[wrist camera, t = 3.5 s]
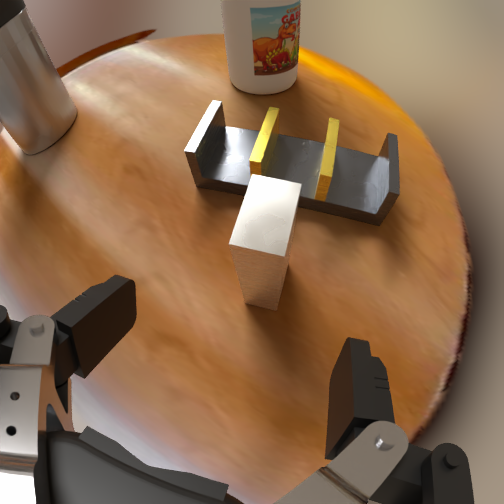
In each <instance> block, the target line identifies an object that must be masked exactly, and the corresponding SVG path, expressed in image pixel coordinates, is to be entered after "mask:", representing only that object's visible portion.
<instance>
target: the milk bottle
mask: <svg viewBox="0 0 504 504" xmlns="http://www.w3.org/2000/svg"><path fill="white" fill-rule="evenodd" d="M221 8H222V17H223V27H224V36H225V45H226V53H227V62H228V70H229V76H230V80H231V82H232V83H233V85H234V86H235V87H236V88H238V89H240V90H242V91H244V92H248V93H251V94H263V95H265V94H274V93H279V92H282V91H284V90H286V89H288V88H290V87H291V86H292V85H293V84H294V82H295V81H296V78H297V69H298V53H299V34H300V0H221Z"/></svg>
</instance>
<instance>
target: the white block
mask: <svg viewBox="0 0 504 504" xmlns="http://www.w3.org/2000/svg"><path fill="white" fill-rule="evenodd" d="M300 191H301V184H299V183H295V182H290V181H285V180H280V179H275V178H270V177H265V176H259V175H254V174H252V177H251V180H250V183H249V186H248V189H247V192H246V195H245V197H244V200H243V203H242V206H241V209H240V212H239V215H238V218H237V221H236V224H235V227H234V230H233V233H232V236H231V239H230V242H229V246H230V250H231V253H232V257H233V261H234V264H235V268H236V272H237V276H238V279H239V283H240V287H241V290H242V294H243V298H244V301H245V303H246V304H250V305H254V306H258V307H262V308H266V309H270V310H274V311H277V307H278V304H279V300H280V296H281V292H282V288H283V284H284V279H285V275H286V271H287V267H288V263H289V257H290V251H291V246H292V240H293V234H294V228H295V222H296V216H297V210H298V204H299V197H300Z"/></svg>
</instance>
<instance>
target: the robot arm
mask: <svg viewBox="0 0 504 504" xmlns="http://www.w3.org/2000/svg"><path fill="white" fill-rule="evenodd" d="M76 115H77V108H76V106H75V104H74V102H73V101H72V99H71V97H70V95H69V93H68V91H67V90H66V88H65V86H64V84H63V82H62V80H61V78H60V76H59V74H58V73H57V71H56V69H55V67H54V65H53V63H52V61H51V59H50V57H49V55H48V53H47V51H46V49H45V47H44V45H43V43H42V41H41V39H40V36H39V35H38V32H37V30H36V28H35V26H34V24H33V22H32V19H31V17H30V15H29V13H28V10H27V8H26V7H25V4H24V1H23V0H0V122H1V123H2V125H3V126H4V127H5V129H6V130H7V131H8V133H9V134H10V135H11V137H12V138H13V139H14V140H15V142H16V143H17V144H18V145H19V147H20V148H21V149H22V150H23V152H24V153H26V154H30V155H31V154H36V153H38V152H41V151H43V150H45V149H46V148H48V147H49V146H51V145H52V144H53V143H55V142H56V141H57V140H58V139H59V138H60V137H61V136H63V135H64V134H65V132H66V131H67V130H68V129H69V128H70V126H71V125H72V123H73V122H74V120H75V118H76ZM136 315H137V311H136V289H135V282H134V281H133V280H131V279H128V278H125V277H122V276H119V275H114V276H113V277H111V278H110V279H108V280H107V281H106V282H104V283H101V284H98V285H95V286H92V287H90V288H89V289H87V290H86V291H85V292H83V293H82V295H79V296H78V297H76V298H75V300H72V301H71V302H70V303H68V304H67V305H66V306H64V307H63V308H62V309H60V310H59V311H58V312H56V313H55V314H54V315H53V316H51V317H48V316H44V315H35V316H31V317H29V318H27V319H25V320H24V321H23V322H18V321H14V320H10V319H9V316H8V312H7V309H6V308H5V307H4V306H2V305H0V504H244V503H243V502H241V501H239V500H238V499H236V498H235V497H233V496H231V495H229V494H228V493H227V490H228V486H229V485H228V484H224V483H221V482H217V481H214V480H211V479H207V478H204V477H201V476H198V475H195V474H192V473H188V472H180V471H174V470H167V469H162V468H156V467H151V466H148V465H146V464H144V463H143V462H142V461H140V460H139V459H138V458H136V457H135V456H134V455H132V454H131V453H130V452H129V451H127V450H126V449H125V448H124V447H122V446H121V445H120V444H119V443H118V442H116V441H114V440H112V439H110V438H108V437H106V436H104V435H103V434H101V433H99V432H97V431H95V430H94V429H92V428H90V427H88V426H87V427H86V428H85V429H84V431H83V432H82V433H78V432H75V431H74V428H73V423H72V404H71V379H70V376H71V375H72V374H73V373H75V374H77V375H78V376H80V377H82V378H84V379H85V378H86V377H87V376H88V374H89V373H90V372H91V371H92V370H93V369H94V368H95V367H96V366H97V365H98V364H99V363H100V361H101V360H102V359H103V358H104V357H105V356H106V355H107V354H108V353H109V352H110V351H111V350H112V349H113V347H114V346H115V345H116V344H117V343H118V342H119V341H120V340H121V339H122V338H123V337H124V336H125V335H126V334H127V333H128V332H129V331H130V329H131V328H132V327H133V325H134V323H135V320H136ZM389 389H390V388H389V382H388V376H387V371H386V367H385V366H384V364H383V363H382V361H381V360H380V359H379V357H373V356H371V352H370V345H369V342H368V341H365V340H360V339H355V338H350V337H348V338H347V339H346V341H345V343H344V346H343V348H342V350H341V353H340V355H339V357H338V360H337V362H336V364H335V367H334V369H333V372H332V375H331V379H330V386H329V408H328V425H327V439H326V451H325V459H329V460H332V461H331V462H330V463H329V464H328V465H327V466H325V467H321V468H320V469H318V470H317V471H316V472H314V473H313V474H312V475H311V476H310V477H308V478H307V479H306V480H305V481H303V482H302V483H301V484H299V485H298V486H297V487H296V488H294V489H293V490H292V491H290V492H289V493H288V494H286V495H285V496H283V497H282V498H281V499H279V500H278V501H276V502H275V503H274V504H367V503H368V501H367V500H368V499H369V500H372V501H375V502H378V503H381V504H474V497H473V489H472V482H471V475H470V469H469V463H468V458H467V456H466V454H465V453H464V451H463V450H462V449H461V448H459V447H458V446H457V445H454V444H451V443H443V444H440V445H438V446H437V447H436V448H435V449H434V450H433V451H430V450H427V449H423V448H420V447H418V446H415V445H412V444H410V443H409V442H408V438H407V436H406V434H405V432H404V431H403V430H402V429H401V428H400V427H399V426H397V425H396V424H395V420H394V413H393V406H392V400H391V394H390V391H389Z"/></svg>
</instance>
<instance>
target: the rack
mask: <svg viewBox="0 0 504 504" xmlns="http://www.w3.org/2000/svg"><path fill="white" fill-rule="evenodd" d="M338 128H339V120H338V119H333V118H329V123H328V128H327V133H326V138H325V143H321V142H316V141H311V140H306V139H301V138H296V137H291V136H286V135H280V134H279V108H274V107H269V109H268V112H267V114H266V117H265V120H264V122H263V125H262V128H261V130H260V131H255V130H249V129H241V128H234V127H226V125H225V119H224V112H223V106H222V101H214V100H213V101H212V103H211V104H210V106H209V108H208V109H207V111H206V113H205V115H204V116H203V118H202V120H201V122H200V123H199V125H198V127H197V129H196V130H195V132H194V134H193V136H192V138H191V140H190V141H189V143H188V145H187V147H186V149H185V154H186V157H187V160H188V163H189V166H190V169H191V172H192V175H193V178H194V181H195V184H196V187H201V188H206V189H212V190H217V191H223V192H228V193H234V194H239V195H244V196H245V195H246V192H247V189H248V186H249V183H250V180H251V177H252V174H254V175H259V176H265V177H270V178H275V179H280V180H285V181H290V182H295V183H299V184H301V191H300V197H299V204H298V207H302V208H306V209H311V210H315V211H319V212H324V213H328V214H332V215H337V216H341V217H345V218H349V219H353V220H357V221H361V222H365V223H369V224H373V225H377V226H380V225H381V223H382V222H383V220H384V219H385V217H386V215H387V214H388V212H389V211H390V209H391V207H392V206H393V204H394V203H395V201H396V199H397V198H398V196H399V195H400V191H399V157H398V140H397V135H394V134H391V133H388V134H387V136H386V139H385V141H384V144H383V146H382V149H381V151H380V153H379V156H374V155H370V154H367V153H363V152H359V151H355V150H351V149H347V148H343V147H339V146H336V144H337V136H338Z"/></svg>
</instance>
